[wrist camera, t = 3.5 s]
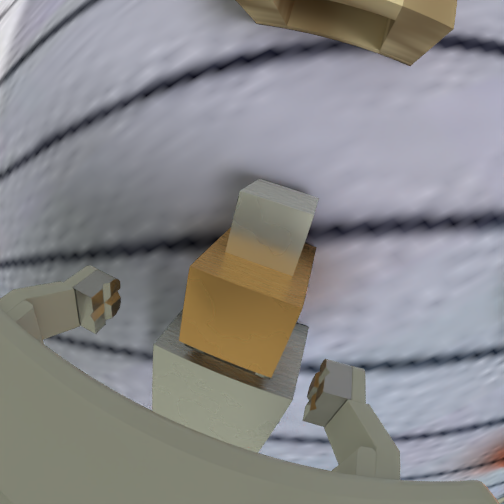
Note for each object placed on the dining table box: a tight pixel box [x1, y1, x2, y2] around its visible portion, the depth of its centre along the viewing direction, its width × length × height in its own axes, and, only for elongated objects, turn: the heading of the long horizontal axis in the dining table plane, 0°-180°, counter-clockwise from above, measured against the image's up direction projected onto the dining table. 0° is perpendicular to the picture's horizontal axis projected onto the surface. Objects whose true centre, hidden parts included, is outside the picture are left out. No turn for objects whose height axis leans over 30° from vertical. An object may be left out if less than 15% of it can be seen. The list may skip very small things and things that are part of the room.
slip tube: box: [179, 179, 319, 378], centre depth 16 cm, size 4×19×6 cm, turn 165°
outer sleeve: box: [152, 310, 309, 453], centre depth 18 cm, size 7×8×6 cm
